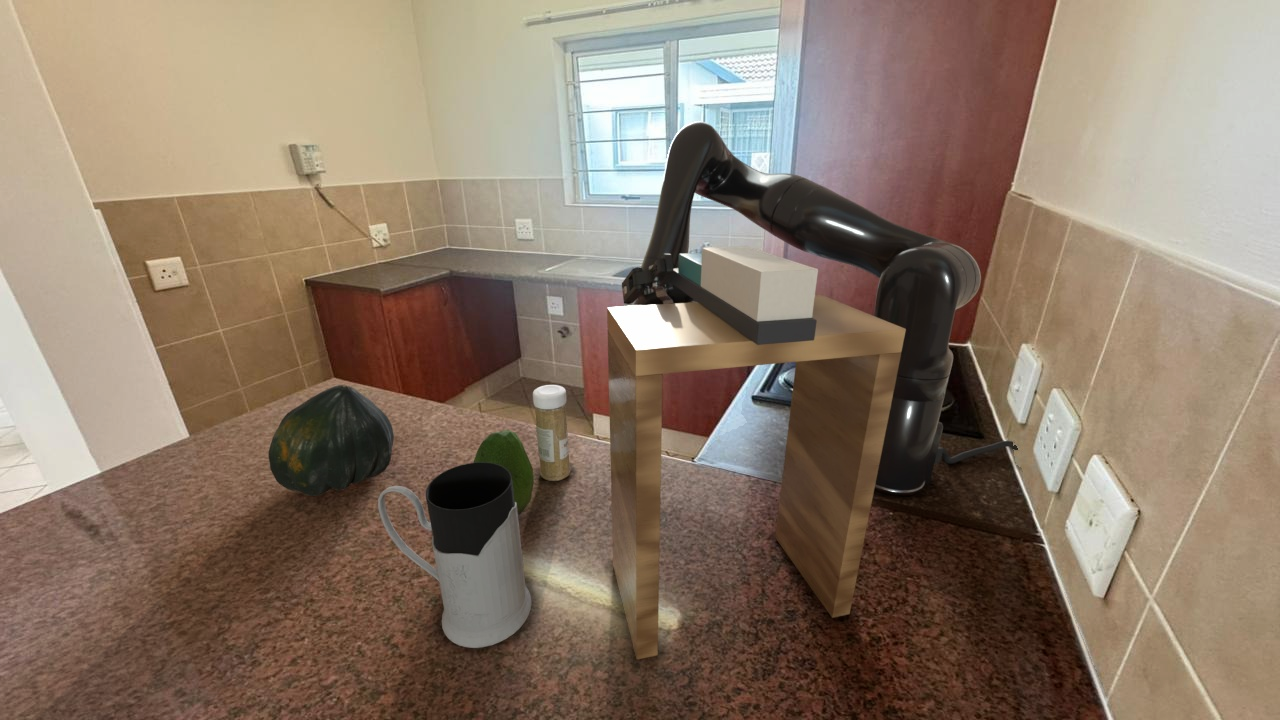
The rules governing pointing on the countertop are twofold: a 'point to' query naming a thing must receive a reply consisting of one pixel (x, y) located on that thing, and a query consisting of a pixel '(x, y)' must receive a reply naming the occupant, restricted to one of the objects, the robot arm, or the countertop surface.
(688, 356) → the wooden stand
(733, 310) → the beige green block bar
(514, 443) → the avocado
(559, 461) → the spice jar
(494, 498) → the glass holder
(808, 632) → the countertop surface
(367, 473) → the squash
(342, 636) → the countertop surface
